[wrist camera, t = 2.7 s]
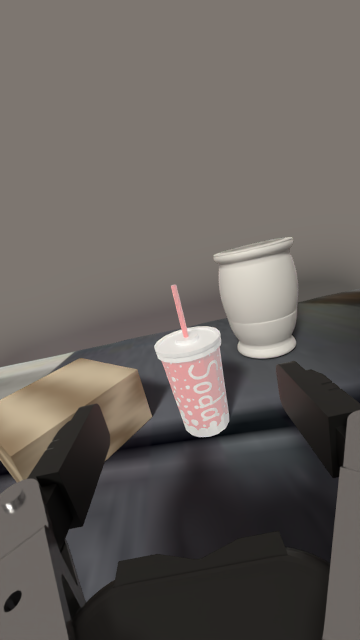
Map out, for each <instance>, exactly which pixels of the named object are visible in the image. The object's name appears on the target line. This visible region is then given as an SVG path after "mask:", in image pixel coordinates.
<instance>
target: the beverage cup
mask: <svg viewBox="0 0 360 640" xmlns="http://www.w3.org/2000/svg"><path fill="white" fill-rule="evenodd" d="M171 289H172V292H173V297H174V301H175V305H176V308H177V313H178V317H179V321H180V325H181V329H182V330H179V331H175V332H173V333H171V334H168V335H166V336H164V337H163V338H161V339H160V340H159V341H157V343H156V344H155V346H154V347H155V351H156V354H157V356H158V359H160V360H162V363H163V366H164V369H165V371H166V374H167V377H168V380H169V383H170V385H171V388H172V391H173V394H174V397H175V399H176V402H177V405H178V408H179V411H180V413H181V416H182V419H183V422H184V425H185V427H186V430H187V431H188V432H189V433H190V434H191V435H194V436H198V437H210V436H213V435H215V434H218V433H220V432H221V431H222V430H224V429H225V428H226V426H227V424H228V423H229V411H228V404H227V397H226V390H225V383H224V376H223V369H222V361H221V354H220V347H219V346H220V345H221V338H220V331H219V330H217V329H216V328H213V327H208V326H202V327H192V328H187V327H186V323H185V319H184V315H183V311H182V307H181V302H180V298H179V294H178V290H177V286H176V285H171Z"/></svg>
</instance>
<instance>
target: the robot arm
mask: <svg viewBox="0 0 360 640" xmlns="http://www.w3.org/2000/svg"><path fill="white" fill-rule="evenodd" d="M276 373H277V380H278V388H279V395H280V400H281V403H282V405H283V408H284V410H285V411H286V413H287V414H288V415H289V417H290V418H291V420H292V421H293V423H294V424H295V425H296V427H297V428H298V430H299V431H300V432H301V434H302V435H303V437H304V438H305V439H306V441H307V442H308V444H309V445H310V446H311V448H312V449H313V451H314V452H315V454H316V455H317V456H318V458H319V459H320V461H321V462H322V463H323V465H324V466H325V468H326V469H327V470H328V472H329V473H330V475H331V476H332V478H336V477H339V483H338V493H337V503H336V513H335V523H334V533H333V543H332V553H331V564H330V563H329V562H327V561H325V560H323V559H321V558H319V557H317V556H315V555H313V554H310V553H308V552H305V551H302V550H299V549H295V548H290V547H285V546H284V543H283V540H282V538H281V535H280V532H279V531H275V532H270V533H265V534H260V535H254V536H249V537H244V538H239V539H237V540H235V541H233V542H231V543H229V544H228V545H226V546H224V547H222V548H220V549H218V550H216V551H214V552H213V553H211V554H209V555H207V556H205V557H203V558H201V559H189V558H182V557H175V556H167V555H160V554H155V555H150V556H144V557H139V558H134V559H129V560H123V561H119V562H118V567H117V573H116V578H115V580H114V581H112V582H110V583H109V584H108V585H106V586H105V587H103V588H102V589H101V590H99V591H98V592H97V593H96V594H95V595H94V596H92V597H91V598H90V599H89V600H88V601H87V602H86V601H85V598H84V595H83V592H82V588H81V585H80V582H79V579H78V575H77V572H76V569H75V565H74V562H73V559H72V555H71V552H70V549H69V545H68V543H67V541H66V539H65V538H66V535H67V533H68V530H69V529H72V528H77V527H82V526H83V524H84V521H85V518H86V515H87V512H88V509H89V507H90V504H91V501H92V498H93V495H94V492H95V489H96V486H97V483H98V480H99V477H100V474H101V471H102V468H103V465H104V462H105V459H106V456H107V453H108V450H109V447H110V433H109V430H108V427H107V424H106V422H105V419H104V416H103V413H102V411H101V408H100V406H99V405H98V404H97V403H96V404H91V405H86V406H82V407H79V408H78V410H77V411H76V413H75V414H74V416H73V418H72V419H71V421H68V422H67V423H66V424H65V425H64V426H63V427H62V428H61V429H60V430H59V431H58V432H57V434H56V435H55V437H54V438H53V440H52V442H51V443H50V444H49V446H48V447H47V450H46V451H45V452H44V453H43V455H42V456H41V458H40V459H39V461H38V463H37V464H36V466H35V467H34V469H33V470H32V472H31V473H30V475H29V476H28V478H27V479H25V480H22V481H20V482H17V483H15V484H14V485H12V486H10V487H9V488H8V489H6V490H5V491H4V492H3V493H1V494H0V640H360V404H359V403H358V402H357V401H356V400H355V399H353V398H352V397H351V396H350V395H348V394H347V393H346V392H345V391H343V390H342V389H340V388H339V387H338V386H337V385H336V384H335V383H332V381H331V380H330V379H328V378H327V377H326V376H325V375H323V374H321V373H319V372H316V371H314V370H305V369H304V368H302V367H301V366H300V365H299V364H298V363H297V362H295V361H292V362H287V363H282V364H278V365H276Z"/></svg>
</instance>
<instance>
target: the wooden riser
mask: <svg viewBox="0 0 360 640" xmlns="http://www.w3.org/2000/svg"><path fill="white" fill-rule="evenodd" d="M96 403H97V404H98V405H99V406H100V408H101V411H102V413H103V416H104V419H105V422H106V424H107V427H108V430H109V433H110V447H109V450H108V453H107V456H106V459H105V461H106V460H107V459H108V458H109V457H110V456H111V455H112V454H113V453H114V452H115V451H116V450H117V449H119V448H120V447H121V446H122V445H123V444H124V443H125V442H126V441H127V440H128V439H129V438H130V437H131V436H132V435H134V434H135V433H136V432H137V431H138V430H139V429H140V428H141V427H142V426H143V425H144V424H145V423H146V422H147V421H149V420H150V419H151V418H152V415H151V411H150V408H149V405H148V402H147V399H146V396H145V393H144V390H143V386H142V383H141V380H140V377H139V374H138V371H137V369H132V368H127V367H122V366H117V365H112V364H107V363H102V362H97V361H92V360H88V359H83V358H80V359H78V360H76V361H74V362H72V363H70V364H68V365H66V366H64V367H62V368H60V369H58V370H57V371H55V372H53V373H51V374H49V375H47V376H45V377H43V378H41V379H39V380H37V381H36V382H34V383H32V384H30V385H28V386H26V387H24V388H22V389H20V390H18V391H16V392H14V393H13V394H11V395H9V396H7V397H5V398H3V399H1V400H0V460H1V462H2V463H3V464H4V466H5V467H6V468H7V470H8V471H9V472H10V474H11V475H12V476H13V478H14V479H15V480H16V482H20V481H22V480H25V479H27V478H28V476H29V475H30V473H31V472H32V470H33V469H34V467H35V466H36V464H37V463H38V461H39V459H40V458H41V456H42V455H43V453H44V452H45V451H46V450H47V447H48V446H49V444H50V443H51V442H52V440H53V438H54V437H55V435H56V434H57V432H58V431H59V430H60V429H61V428H62V427H63V426H64V425H65V424H66V423H67V422H68V421H71V419H72V418H73V416H74V414H75V413H76V411H77V410H78V408H79V407H82V406H86V405H91V404H96Z"/></svg>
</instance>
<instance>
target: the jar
mask: <svg viewBox="0 0 360 640" xmlns="http://www.w3.org/2000/svg"><path fill="white" fill-rule="evenodd" d="M292 238H293V237H289V238H288V237H286V238H279V239H273V240H268V241H263V242H258V243H254V244H250V245H245V246H242V247H237V248H234V249H230V250H227V251H223V252H220V253H218V254H216V255H214V261H215V262H216V263H217V264H219V289H220V296H221V300H222V304H223V307H224V310H225V312H226V315H227V318H228V321H229V324H230V326H231V329H232V331H233V333H234V334H235V336H236V337H237V338H238V340H240V341H239V343H238V351H239V352H240V353H241V354H242V355H244V356H247V357H250V358H258V359H267V358H274V357H278V356H282V355H284V354H287V353H289V352H290V351H292V350H293V349H294V347H295V346H296V340H295V338H294V337H293V336H292V335H291V334H292V333H293V330H294V328H295V324H296V319H297V303H298V278H297V273H296V269H295V264H294V261H293V258H292V256H291V254H290V251H289V250H290V248H291V247H292V245H293V239H292Z"/></svg>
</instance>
